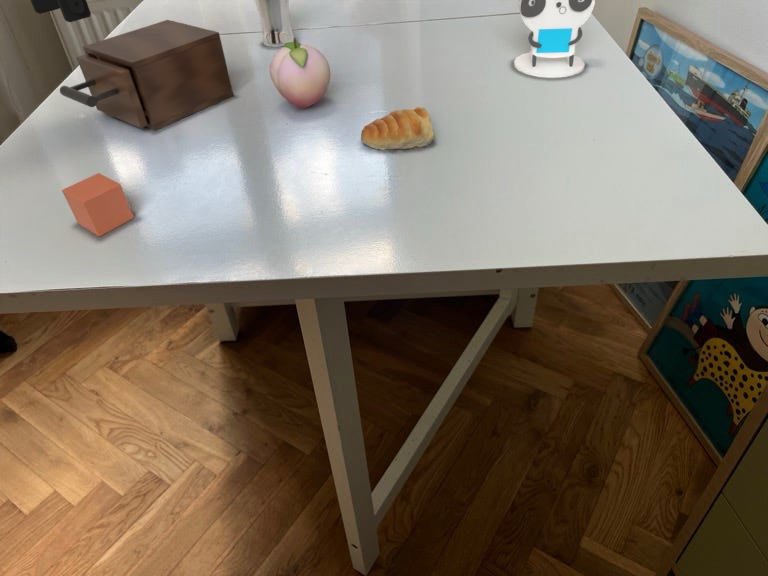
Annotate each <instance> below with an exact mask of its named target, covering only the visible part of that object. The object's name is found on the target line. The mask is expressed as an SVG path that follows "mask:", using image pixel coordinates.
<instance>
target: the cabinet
mask: <svg viewBox="0 0 768 576" xmlns="http://www.w3.org/2000/svg"><path fill="white" fill-rule="evenodd" d="M220 35H221V34H220V32H219V31H216V30H212V29H207V28H203V27H199V26H195V25H190V24H188V23H187V24H186V23H183V22H179V21H174V20H171V19H166V20H162V21H158V22H156V23H153V24H149V25H147V26H146V25H145V26H144V27H140V28H137V29H134V30H130V31H127V32H124V33H120V34H118V35H114V36H111V37H108V38H105V39H102V40H99V41H96V42H93V43H89V44H86V45H82V49H83V51H84V53H85V54H84V55H86V56H89V57H92V58H95V59H97V57H96V56H98V57H101V58H104V59H107V60H110V61H113V62H116V63H119V64H122V65H125V66H128V67H131V68H132V71H133V74H134V76H135V79H136V82H137V85H138V88H139V91H140V94H141V97H142V100H143V103H144V106H145V109H146V112H147V115H148V117H147V116H145V118H146V121H147V124H148V125H147V126H145V127H146V128H149V129H150V130H154V131H158V130H160V129H162V128H164V127H168V126H169V125H171V124H173V123H175V122H178V121H180V120H183V119H185V118H186V117H189V116H191V115H194V114H195V113H198V112H201V111H203V110H205V109H208V108H209V107H211V106H214V105H216V104H218V103H220V102H222V101H225V100H227V99H229V98H231V97H234V93H233V88H232V83H231V79H230V74H229V70H228V65H227V61H226V58H225V57H226V56H225V53H224V48H223V43H222V39H221V36H220Z"/></svg>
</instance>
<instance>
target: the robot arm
mask: <svg viewBox="0 0 768 576" xmlns="http://www.w3.org/2000/svg"><path fill="white" fill-rule="evenodd" d="M30 3H31V5H32V7H33V11H34V12H35V13H36V14H39V15H41V14H45V13H48V12H52V11H57V10H60V12H61V14H62V16H63V19H64V21H65V22H67V23H73V22H76V21H80V20H83V19H88V18H90V17H91V15H92V14H91V9H90V8H89V5H88V2H87V0H30Z"/></svg>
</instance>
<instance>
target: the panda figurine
mask: <svg viewBox="0 0 768 576" xmlns="http://www.w3.org/2000/svg"><path fill="white" fill-rule="evenodd" d="M595 3H596V0H518V10H519V14H520V16H521V19H522V21H523V23H524V24H525V26H526V27H527V29H529V30H530V33H529V35H528V43H529V45H530V50H529V52H526V53H522V54H520V55H518V56H517V57H515V58H514V61H513V66H514V68H515V69H516V70H517V71H519V72H520V73H522V74H524V75H525V74H526V75H529V76H532V77H539V78H551V79H552V78H553V79H554V78H555V79H556V78H566V77H571V76H575V75H577V74H580V73H581V72H582V71H584V68H585V66H586V65H585V64H586V63H585V61H584V59H582V58H580V56H577V55H575V50H576V44H577V43H578V42H580V41H581V39H582V37H583V30H582V28H581V26H583V25H584V24H585V23H586V22H587V20H588V19H589V18H590V16H591V15H592V13H593V10H594V7H595Z"/></svg>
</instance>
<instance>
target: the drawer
mask: <svg viewBox="0 0 768 576" xmlns="http://www.w3.org/2000/svg"><path fill="white" fill-rule="evenodd" d="M96 57H97V59H95V58H92V57H89V56H86V54H83V55H79V56H76V57H75V58H76V60H77V63H78V65H79V68H80V70H81V72H82V73H81V74H82V75H83V78H84V80H85V81H84V82H81V83H77V84H75V85H72V86H68V85H62V86H60V88H59V93H60V95H62V96H63V97H65V98H67V99H70V100H72V101H75V102H77V103H80V104H82V105H84V106H87V107H89V108H94V107H95V108H96V110H97V111H99V112H101V113H104V114H106V115H108V116H110V117H113V118H116V119H118V120H121V121H123V122H125V123H127V124H130V125H132V126H135V127H137V128H139V129H143V128H144V127H146V126H147V125H148V124H147V121H146V118H145V116H147V117H148V115H147V112H146V109H145V106H144V103H143V100H142V97H141V94H140V91H139V88H138V85H137V82H136V79H135V76H134V74H133V71H132V68H131V67H128V66H125V65H122V64H119V63H116V62H113V61H110V60H107V59H104V58H101V57H98V56H96ZM87 88H88V90H89V93H90V94H87V93H85V92H82V91H81V90H84V89H87Z"/></svg>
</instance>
